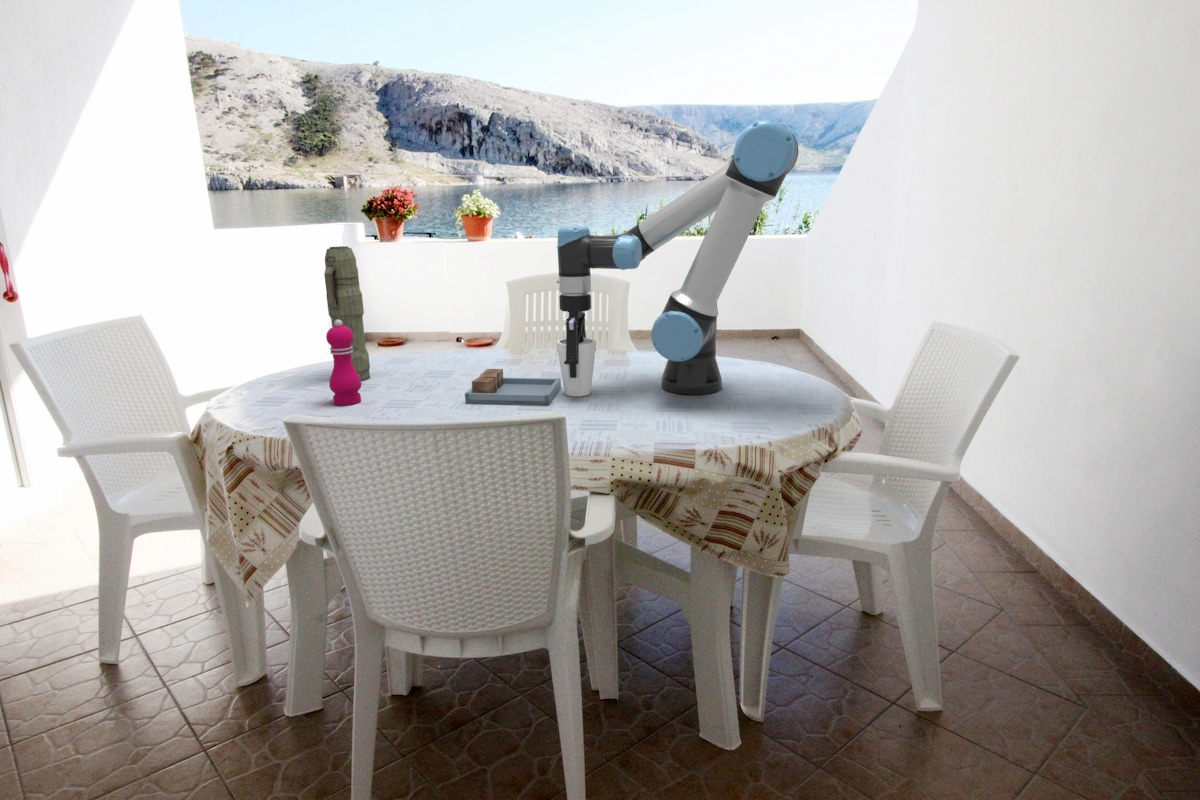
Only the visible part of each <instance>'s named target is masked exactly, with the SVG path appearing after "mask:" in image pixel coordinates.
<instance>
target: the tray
mask: <svg viewBox="0 0 1200 800" xmlns="http://www.w3.org/2000/svg"><path fill="white" fill-rule="evenodd" d="M561 379H562V378H553V377H551V378H548V377H546V378H544V377H503V383H504V384H503V385H502V386H501V387H500V388H498V390H497V392H496V393H472V387H471V388H470V389H469V390H468V391H467V392H465V393H464V399H465V404H466V405H467V404H469V405H471V404H472V405H473V404H475V405H508V406H511V405H512V406H513V405H516V406H550V404H551V403H552V402H553V400H554V398H555V397H556V395H557V394H558V392H559V391H560V390H561V387H562V385H561V381H562V380H561Z"/></svg>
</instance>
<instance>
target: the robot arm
mask: <svg viewBox="0 0 1200 800" xmlns="http://www.w3.org/2000/svg"><path fill="white" fill-rule="evenodd" d="M798 157H799V144H798V141H797V139H796V137H795V135H794V134H793V132H792V131H791V130H790V129H789V128H788V126H787V125H786V124H783V123H781V122H780V121H777V120H773V119H761V120H758V121H756V122H753V123H750V125H748V126H747V127H745V128H744V129H743V130H742V131H741V133H740V134H739V136H738V137H737V139H736V140H735V143H734V147H733V154H731V156H730V157H729V160H728V163H727V164H725V165H724V166H722V167H721V168H719V169H718V170H716V171H715V172H714V173H712V174H710V175H709V176H707V177H706V178H704V179H703V180H702V181H700V182H699V183H697V184H696V185H694V186H692V187H691V188H690V189H688V190H687V191H685V192H684V193H682V194H681V195H679V196H678V197H676V198H675V199H673V200H672V201H670V202H669V203H667V204H666V205H665V206H663V207H662V208H660V209H659V210H657V211H656V212H654V213H653V214H651V215H650V216H648V217H646V218H645V219H643V220H642V221H641V222H639V223H638V224H637V225H635V226H633V227H632V228H630V229H629V230H627V231H626V232H624V233H621V234H615V235H593V234H592V235H591V233H590V232H591V231H590V229H589V227H587V226H564V227H561V228H559V229H558V232H557V245H556V248H557V263H558V264H557V265H558V279H556V284H558V285H559V286H558V288H559V289H558V292H559V293H561V294H560V295H559V298H558V300H559V309H560V311H562V312H564V313H565V312H568V317H567V318H566V321H565V329H566V333H565V334H566V337H565V339H566V361H564V364H568V391H580V368H579V361H578V357H579V348H578V345H579V343H582V342H584V338H587V334H586V313H585V312H588V311H590V310H591V309H592V295H591V294H590V293H591V291H592V283H591V282H592V278H591V277H592V276H591V269H592V270H593V269H594V270H595V269H605V270H606V269H607V270H610V269H611V270H622V271H623V270H624V271H625V270H635V269H638V268H639V266H640V263H641V261H643V260H645V259H646V257H647V256H649V255H650V254H652V253H654V251H656V250H658V249H659V248H661V247H662V246H665V244H667V243H669V242H670V241H672V240H674V239H675V238H676V237H678V236H680V235H681V234H682V233H684V232H685V231H687V230H689V229H690V228H692V227H694V226H695V225H696V224H698V223H700V222H701V221H702V220H704V219H706V218H707V217H709V216H710V215H712V214H713V213H714V216H713V218H712V220H711V222H710V224H709V226H708V229H707V231H706V233H705V235H704V237H703V240H702V241H701V244H700V246H699V248H698V250H697V252H696V255H695V257H694V259H693V261H692V263H691V266H690V267H689V270H688V272H687V274H686V276H685V278H684V280H683V283H682V285H681V287H680V288H678V289H677V290H673V291H672V292H671V293H670V295H669V297H668V300H667V301H666V304H665V306H664V308H663V310H662V313H661V314H660V315H659V316H658V317H657V318H656V319H655V321H654V322H653V324H652V328H651V333H650V334H651V335H650V337H651V338H650V339H651V343H652V345H653V347H654V349H655V350H656V352H657V353H658V354H659V355H660V356H661V357H663V358H664V359H666V360H667V361H666V363H665V368H664V370H663V372H662V376H661V388H662V390H665V391H666V392H669V393H674V394H679V395H691V396H692V395H709V394H712V393H716V392H719V391H721V389H722V386H723V385H722V383H723V382H722V381H723V379H722V375H721V372H720V369H719V365H718V362H717V358H716V357H717V356H716V354H717V353H716V352H717V351H716V350H717V327H718V326H717V325H718V323H717V321H718V316H719V308H718V301H719V299H720V296H721V294H722V292H723V290H724V288H725V286H726V284H727V282H728V279H729V277H730V276H731V273H732V272H733V269H734V268H735V265H736V263H737V261H738V259H739V257H740V255H741V252H742V250H743V249H744V246H745V244H746V242H747V240H748V238H749V236H750V234H751V233H752V230H753V228H754V226H755V223H756V221H757V219H758V217H759V215H760V213H761V212H762V209H763V206H764V205H765V203H767V202H770V201H771V200H774V199H775V198H776V197H777V195H778V192H779V191H780V189H781V187H782V184H783V183H784V180H785V179H786V177H787V174H789V173H790V172H791V171H792V170H793V168H794V167H795V165H796V164H797V161H798Z"/></svg>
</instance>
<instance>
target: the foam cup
mask: <svg viewBox="0 0 1200 800" xmlns="http://www.w3.org/2000/svg"><path fill="white" fill-rule="evenodd" d="M578 348H579V357H578V361H579V368H580V391H568V364H564V361H566V338H561V339H558V340H557V341H556V351H557V353H558V361H559V366H560V371H561V377H562V378H561V379H562V385H563V390H564V394H565V396H568V397H584V396H588V395H590V394H591V393H592V391H591V390H592V385H593V375H594V367H595V366H594V365H595V357H596V354H595V353H596V351H597V341H596V339H593V338H590V337H586V338H584V342H582V343H579V345H578Z"/></svg>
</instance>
